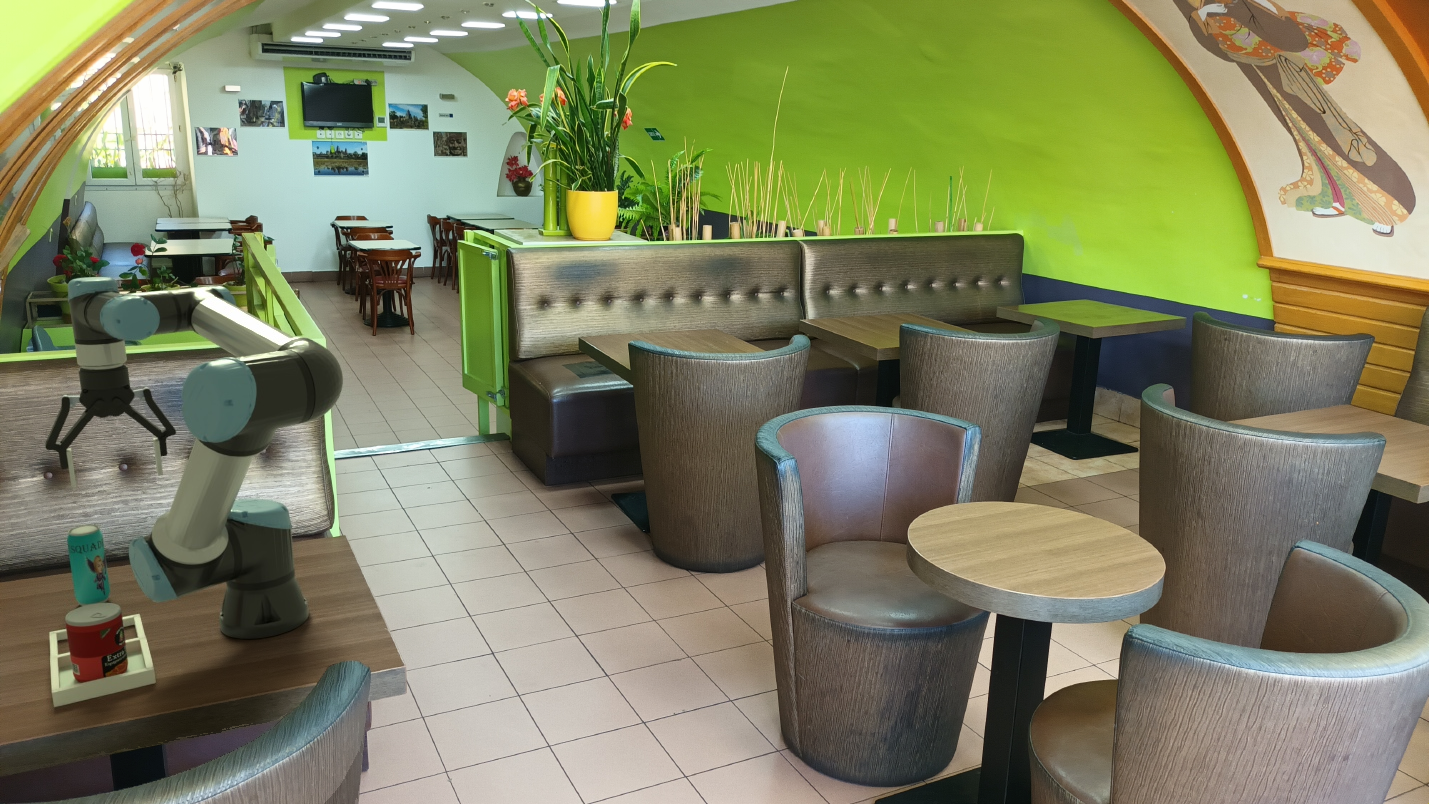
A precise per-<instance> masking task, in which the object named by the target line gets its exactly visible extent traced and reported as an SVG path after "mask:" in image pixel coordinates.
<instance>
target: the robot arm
mask: <svg viewBox="0 0 1429 804" xmlns="http://www.w3.org/2000/svg"><path fill="white" fill-rule="evenodd" d="M67 293H68V298H67V303H68V304H69V311H70V317H71V324H72V330H73V331H72V333H73V339H74V348H75V355H76V362H77V363H76V364H77V365H78V366H80V367H79V369H78V376H79V385H80V394H79V395H69V394H66V393H64V394H62V395H61V397H60V400H61V402H60V409H59V412H58V414H57V416H56V417H55V420H54V422H53V424H52V427H51V429H50V430H49V431H50V432H49V434H48V437H47V438H46V440H45V443H44V447H45V449H46V450H47V451H55V452H57V454H58V459H59V463H60V464H59V466H60V468H61V469H62V470H68V472H69V479H70V485H71V489H72V488H77V481H76V474H75V473H76V472H75V467H74V459H73V454H72V448H71V447H70V446H71V444H72V443H73V442H74V441H75V440H76V439H77V437H78V436H79V435H80V434H81V432H82V431H83V430H84V428H85V427H86V426H87V425H88V423H90V422H91V421H92V419H93V418H94V417H97V418H100V419H104V418H107V417H119V416H122V415H123V414H124V413H125V414H126V415H127V416H129V417H130V418H132V419H133V420H134V421H136V423H138V424H139V425H141V426H142V427H143V428H144V429H146V431H148V432H149V433H150V434H152V435H153V436H155V437H154V438H152V444H153V449H154V451H153V452H154V458H155V466H156V468H155V469H156V473H157V475H158V476H164V471H163V462H162V457H167V455H168V448H167V446H168V445H167V439H168V438H170V437H172V436H175V435H177V431H176V429H175V427H174V425H173V424H172V423H171V422H170V420H169V419H168V418H167V416H166V415H165V413H164V412H163V410H162V409H161V408H160V407H159V406H158V404H157V403H156V401H155V400H154V398H153V395H152V391H151V389H150V387H149V386H143V387H142V388H139V389H134V390H133V389H132V388H131V383H130V381H131V380H130V375H129V366H127V364H125V363H126V362H127V361H128V359H127V358H128V357H127V351H126V343H125V342H131V341H133V342H135V341H137V342H139V341H144V340H146V339H148V338H150V337H151V336H158V335H167V334H173V333H175V334H176V333H183V332H193V333H196V334H197V335H199V336H201V337H202V338H204V339H206V340H208V341H209V342H211V343H213V344H215V345H216V346H218V347H219V348H221V349H223V350H225V351H226V352H227V353H230V354H231V355H233V356H234V357H230V356H229V357H221V358H218V359H217V358H216V359H215V360H213V361H211V360H210V361H207V362H203V363H201V364H199V365H197V366H195V367H194V368H193V369H191V371H190V372H189V373H188V375H187V377H186V378H185V379H184V383H183V385H182V390H181V397H180V398H181V400H182V401H183V403H182V405H181V406H180V407H181V411H182V412H181V413H182V417H183V420H184V423H185V425H186V427H187V429H188V431H189V432H190V433H191V434H192V436H193V437H194V438H195V440H194V443H193V447H192V449H191V451H190V454H189V457H188V460H187V463H186V465H185V468H184V471H183V473H182V477H181V479H180V481H179V484H178V488H177V490H176V493H175V496H174V499H173V502H172V504H171V506H170V509H169V510H168V511H166V512H165V513H163V514H161V515H160V516H159V517H158V518H157V519H156V521H155V523H154V524H153V527H152V530H151V533H150V534H147V535H145V536H143V535H139V537H137V538H134V539H132V540H131V542H130V543H129V544H128V545H129V546H128V556H129V557H128V558H129V563H130V566H131V570H132V572H133V575H134V579H135V580H136V582H137V585H138V586H139V588H140V589H141V591H142V592H143V594H144V595H145V596H146V597H147V599H149V600H151V601H152V602H154V603H159V604H161V603H165V602H168V601H172V600H178V599H179V598H182V597H186V596H188V595H191V594H194V593H197V592H201V591H203V590H206V589H209V588H213V587H215V586H218V585H221V584H223V583H226V589H225V592H224V593H225V594H224V596H223V597H224V598H223V600H222V605H221V610H220V613H219V617H218V618H219V619H218V620H219V630H220V631H221V633H223V634H224V635H225V636H227V637H231V638H234V639H241V640H245V639H246V640H249V639H250V640H251V639H253V640H254V639H263V638H271V637H274V636H278V635H281V634H285V633H287V632H289V631H292V630H295V629H296V628H298V627H300V626H301V625H303V624H304V623H305V622H306V621H308V618H309V603H308V600H307V598H306V597H305V596H304V594H303V592H302V589H301V586H300V585H299V582H298V580H297V578H296V571H295V570H296V569H295V558H294V547H293V545H294V544H293V534H292V529H293V525H292V521H291V516H290V512H289V509H288V507H287V506H286V505H285V504H284V503H281V502H279V501H276V500H272V499H271V500H270V499H263V498H243V499H237V497H238V494H239V492H240V490H241V488H242V485H243V482H244V480H245V478H246V476H247V472H248V471H249V469H250V465H251V463H252V461H253V459H254V457H255V456H257V455H259V454H261V453H263V452H265V450H267V449H268V447H269V446H270V444H272V443H271V442H272V440H273V438H274V436H275V434H276V432H277V430H279V429H282V428H285V427H287V428H288V427H292V426H296V425H302V424H305V423H310V422H312V421H315V420H317V419H319V418H321V417H323V416H324V415H326V414H327V413H329V411H330V410H331V409H332V408H333V407H334V406H335V405H336V403H337V402H338V400H339V398H340V396H341V394H342V391H343V384H344V379H343V378H344V377H343V371H342V366H341V365H340V363H339V361H338V359H337V358H336V357H335V355H334V354H333V352H332V351H330V350H329V349H328V348H326V347H325V346H324V345H322V344H320V343H319V342H316V341H314V340H312V339H311V338H308V337H303V336H302V337H300V336H299V337H298V336H297V337H294V336H293V335H290V334H289V333H287V332H285V331H283V330H281V329H280V328H278V327H276V326H273V325H272V324H270V323H268V322H267V321H264V320H263V319H261V318H259V317H257V316H255V315H254V314H252V313H249V312H248V311H246V310H245V309H242V308H240V307H239V306H237V302H236V299H235V297H234V295H233V294H231V291H230V290H229V289H228V288H226V287H225V286H220V285H218V286H209V285H204V286H199V287H188V288H187V287H186V288H177V289H167V290H166V289H165V290H154V291H143V292H142V291H141V292H130V293H120V289H119V287H118V282H117V281H116V279H114V278H113V277H109V276H108V277H106V276H103V277H102V276H95V277H94V276H93V277H92V276H91V277H77V278H73V279H71V280H70V281H69V282H68V283H67ZM135 397H136V398H138V399H139V400H140V401H141V402H145V403H146V405H147V406H148V408H149V409H150V411H151V412H152V413H153V414H154V415H155V417H156V418H157V420H158V421H159V422H160V424H161V425H162V426H163V427H164V429H160V428H159V427H158V426H157V425H155V424H154V423H153V422H152V421H150V420H149V419H148V418H146V416H144V415H143V414H142V413H140V412H139V411H138V410H136V408H134V406H132V405H131V403H132V402H133V400H134V398H135ZM78 403H80V405H82V406H83V407H84V408H85V410H84V411H83V412H82V414H81V416H79V418H78V420H76V421H75V423H74V424H73V425H72V427H70V429H69V431H68V432H67V433H66V434H65V436H64V437H62V439H61V440H60V442H57V441H58V439H59V436H60V434H61V432H62V429H63V427H64V426H65V422H66V420H67V418H68V416H69V413H70V410H71V409H73V408H75V406H76V404H78ZM69 447H70V448H69Z"/></svg>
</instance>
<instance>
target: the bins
mask: <svg viewBox="0 0 1429 804" xmlns="http://www.w3.org/2000/svg"><path fill="white" fill-rule="evenodd" d="M122 619H123V627H129V626H133V625H134V629H135V631H136V635H137V637H134V638H130V639H125V643H126V651H127V658H128V667H127V670H126V672H125V673H123V674H119V675H115V676H110V677H106V678H102V679H97V680H93V681H89V682H84V683H80V682H78V681H77V680H76V679H75V677H74V675H73V670H72V664H71V657H70V651H69V652H66V653H60V654H59V646H58V644H59V643H58V641H64V640H68V637H67V631H66V628H65V629H58V630H54V631H49V651H50V652H49V653H50V656H49V660H50V661H49V662H50V663H49V664H50V682H51V683H50V684H51V696H52V703H53V708H58V707H62V706H65V705H70V704H74V703H77V702H82V701H85V700H91V699H94V698H99V697H103V696H107V695H111V694H115V693H119V692H124V691H128V690H131V689H137V688H141V687H146V686H148V685H153V684H156V683H157V681H156V673H155V668H154V667H155V666H154V664H153V659H152V655H151V652H150V648H149V644H148V640H147V636H146V634H145V630H144V626H143V623H142V619H141V615H140V613H138V614H137V613H136V614H131V615H127V616H122Z"/></svg>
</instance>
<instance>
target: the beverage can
mask: <svg viewBox="0 0 1429 804" xmlns="http://www.w3.org/2000/svg"><path fill="white" fill-rule="evenodd" d="M67 534H68V536H67V538H66V542H67V548H68V555H69V556H68V557H69V563H70V570H71V576H72V584H73V591H74V597H75V598H74V599H76V601H77V603H78V604H79V605H80V607H82V606H86V605H90V604H96V603H107V601H108V599H109V597H110V593H111V588H110V580H109V572H108V566H107V557H106V552H105V550H106V549H105V544H104V537H103V533H102V531H101V529H100V525H97V524H84V525H79V526H75V527H72V528H70V529H68V530H67Z"/></svg>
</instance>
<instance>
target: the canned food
mask: <svg viewBox="0 0 1429 804" xmlns="http://www.w3.org/2000/svg"><path fill="white" fill-rule="evenodd" d="M122 617H123V615H122V609H121V605H119V604H117V603H112V602H105V603H96V604H90V605H86V606H79V607H76V608H74V609H72V610H71V611H69V612H68V613H67V614H66V615H65V618H64V619H65V621H64V622H65V629H66V631H67V637H68V639H67V642H68V644H67V645H68V650H69V652H70V657H71V664H72V670H73V675H74V677H75V679H76V680H77V681H78V682H80V683H84V682H89V681H93V680H97V679H102V678H106V677H110V676H115V675H119V674H123V673H125V672H126V670H127V667H128V658H127V651H126V643H125V640H126V636H125V628H124V627H123V619H122Z"/></svg>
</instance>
